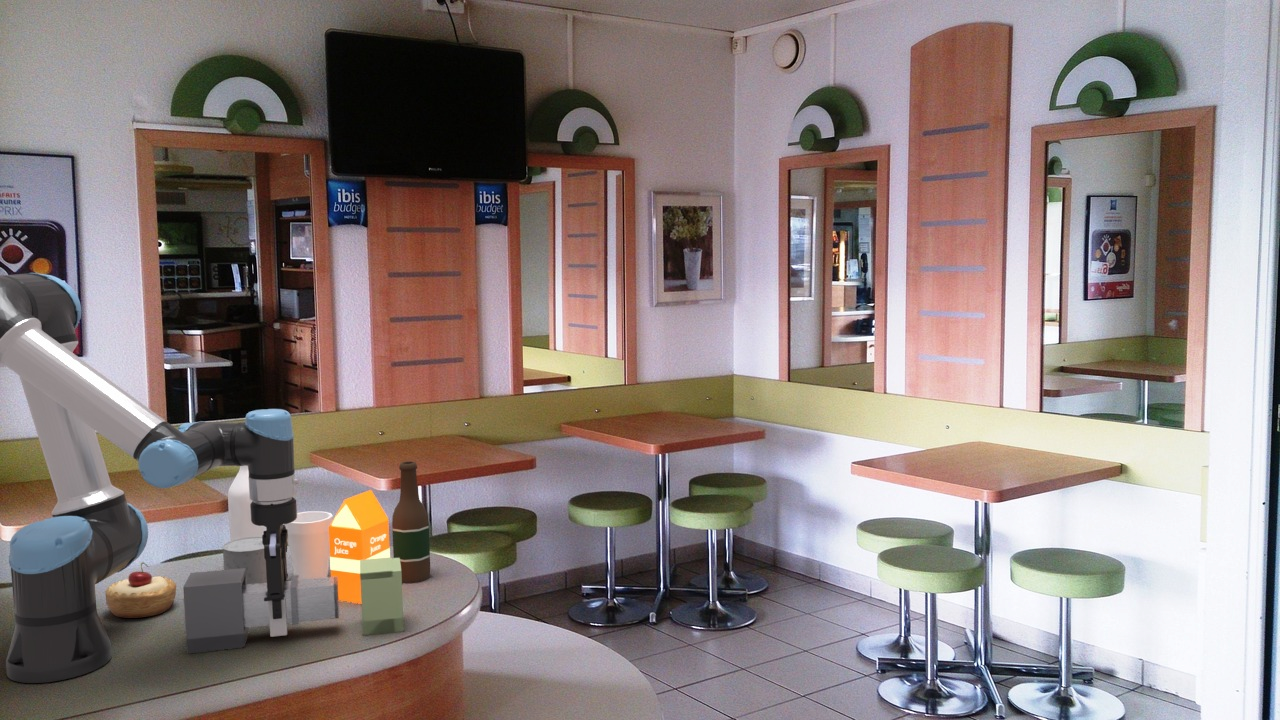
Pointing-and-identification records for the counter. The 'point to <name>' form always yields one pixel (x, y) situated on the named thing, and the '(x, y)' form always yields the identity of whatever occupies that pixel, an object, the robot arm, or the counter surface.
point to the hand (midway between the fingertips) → (280, 628)
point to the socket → (381, 595)
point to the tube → (292, 601)
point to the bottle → (241, 508)
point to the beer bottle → (411, 528)
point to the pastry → (140, 595)
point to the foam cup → (310, 544)
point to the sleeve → (214, 610)
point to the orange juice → (356, 541)
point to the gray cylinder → (246, 558)
